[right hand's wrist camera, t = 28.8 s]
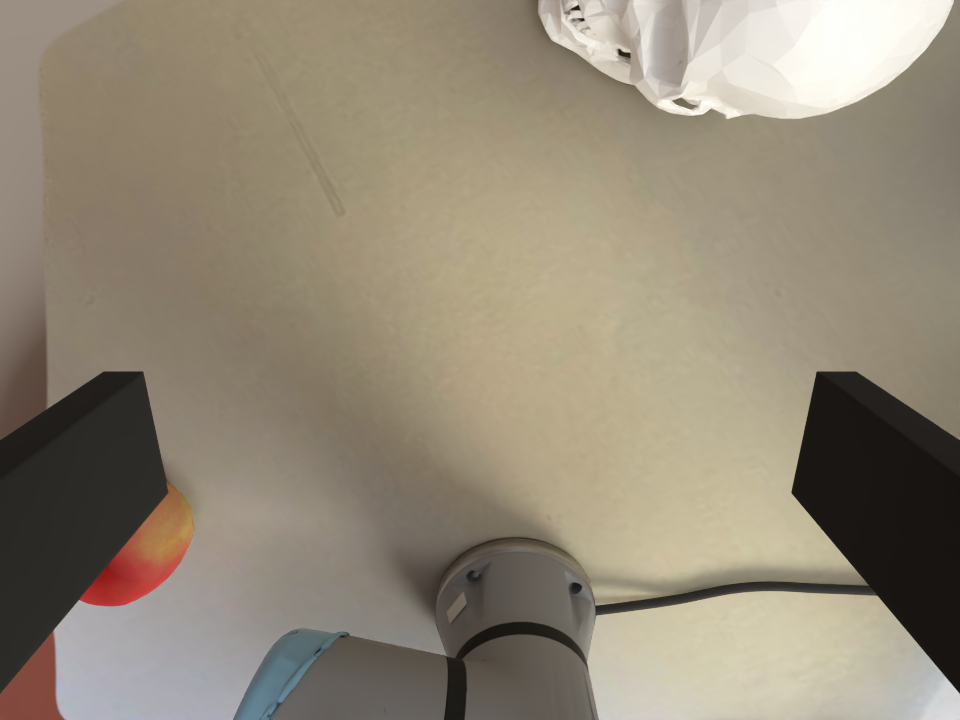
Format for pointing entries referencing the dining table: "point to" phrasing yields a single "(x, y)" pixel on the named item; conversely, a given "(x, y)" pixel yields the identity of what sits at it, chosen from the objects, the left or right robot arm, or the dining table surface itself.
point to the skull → (748, 49)
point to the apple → (146, 554)
